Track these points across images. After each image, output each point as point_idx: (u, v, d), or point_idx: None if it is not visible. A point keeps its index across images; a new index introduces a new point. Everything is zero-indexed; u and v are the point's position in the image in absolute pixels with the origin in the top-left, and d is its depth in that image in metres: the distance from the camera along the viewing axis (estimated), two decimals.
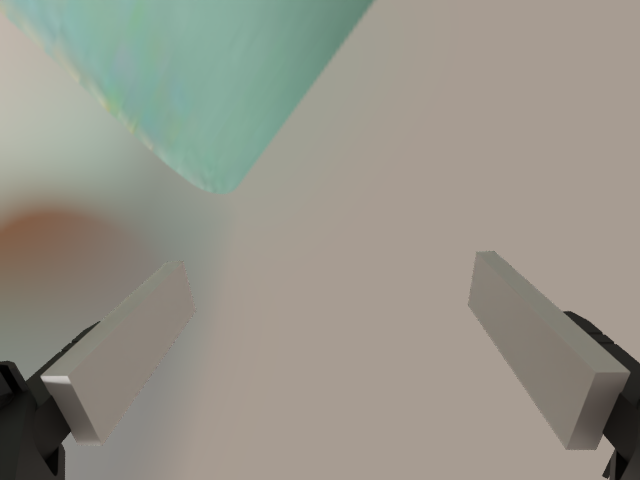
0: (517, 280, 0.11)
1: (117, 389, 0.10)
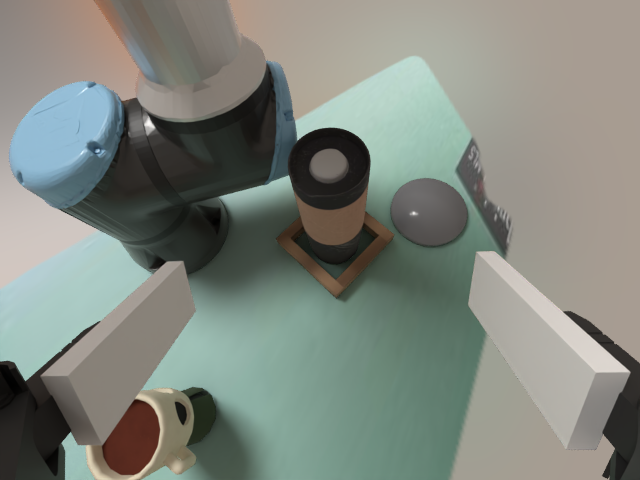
0: (517, 280, 0.11)
1: (117, 389, 0.10)
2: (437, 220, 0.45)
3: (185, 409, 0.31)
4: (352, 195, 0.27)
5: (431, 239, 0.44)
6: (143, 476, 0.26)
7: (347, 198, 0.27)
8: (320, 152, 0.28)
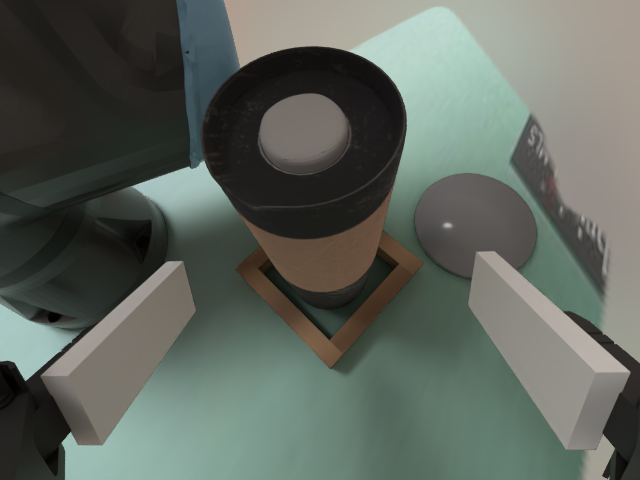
0: (517, 280, 0.11)
1: (117, 389, 0.10)
2: (489, 238, 0.29)
3: None
4: (361, 205, 0.10)
5: None
6: None
7: (349, 212, 0.10)
8: (283, 101, 0.12)
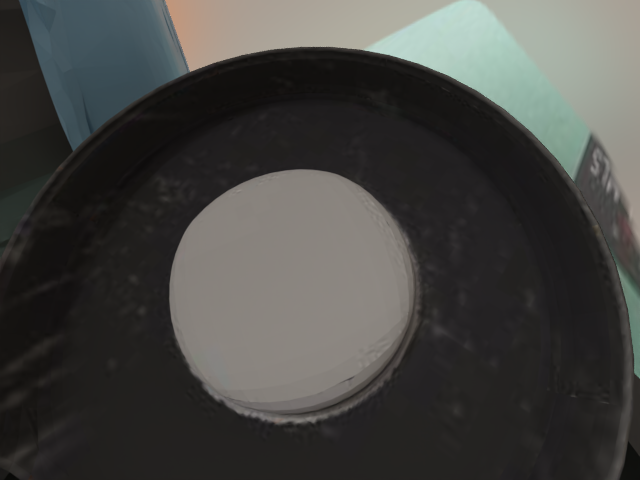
0: None
1: None
2: None
3: None
4: None
5: None
6: None
7: None
8: (239, 193, 0.04)
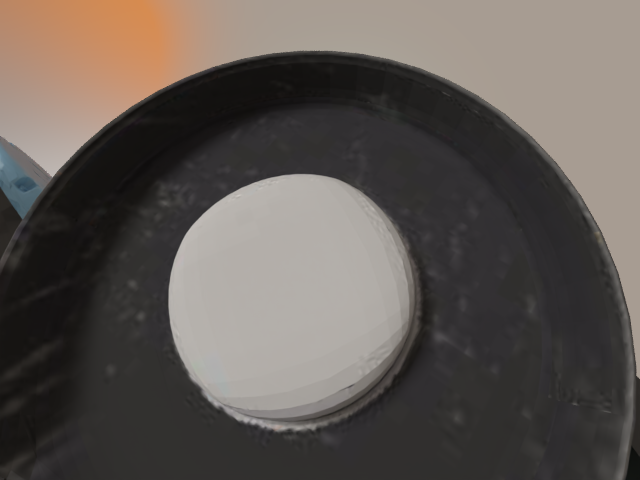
0: None
1: None
2: None
3: None
4: None
5: None
6: None
7: None
8: (238, 198, 0.04)
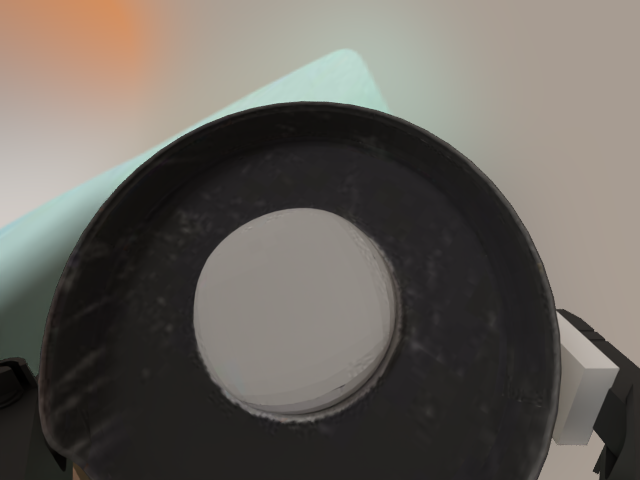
0: None
1: None
2: None
3: None
4: None
5: None
6: None
7: None
8: (250, 230, 0.05)
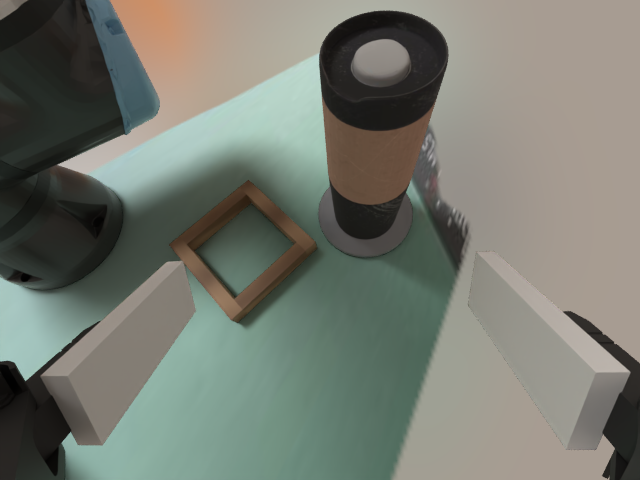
0: (517, 280, 0.11)
1: (117, 389, 0.10)
2: None
3: None
4: (420, 102, 0.17)
5: (363, 248, 0.34)
6: None
7: (412, 106, 0.17)
8: (368, 43, 0.19)
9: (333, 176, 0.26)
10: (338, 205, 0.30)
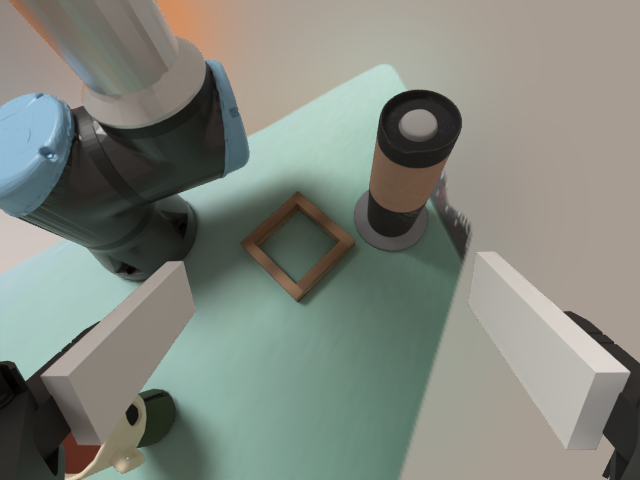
0: (517, 280, 0.11)
1: (117, 389, 0.10)
2: None
3: (137, 410, 0.32)
4: (445, 152, 0.28)
5: (391, 244, 0.45)
6: (86, 475, 0.26)
7: (440, 155, 0.28)
8: (410, 112, 0.29)
9: (376, 192, 0.37)
10: (375, 212, 0.40)
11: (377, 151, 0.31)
